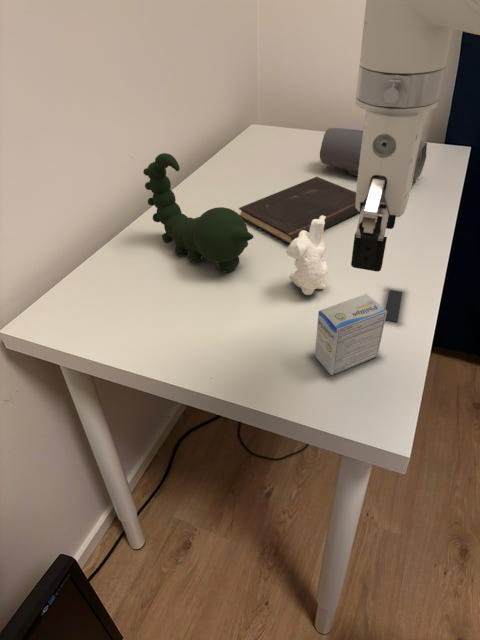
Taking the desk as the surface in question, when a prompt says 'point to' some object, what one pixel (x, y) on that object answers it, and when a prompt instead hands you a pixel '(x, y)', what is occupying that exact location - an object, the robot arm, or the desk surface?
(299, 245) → the white bunny figurine
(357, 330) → the medicine box
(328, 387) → the desk surface
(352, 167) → the bluetooth speaker
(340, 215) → the hardcover book
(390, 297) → the strip
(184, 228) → the toy figurine
